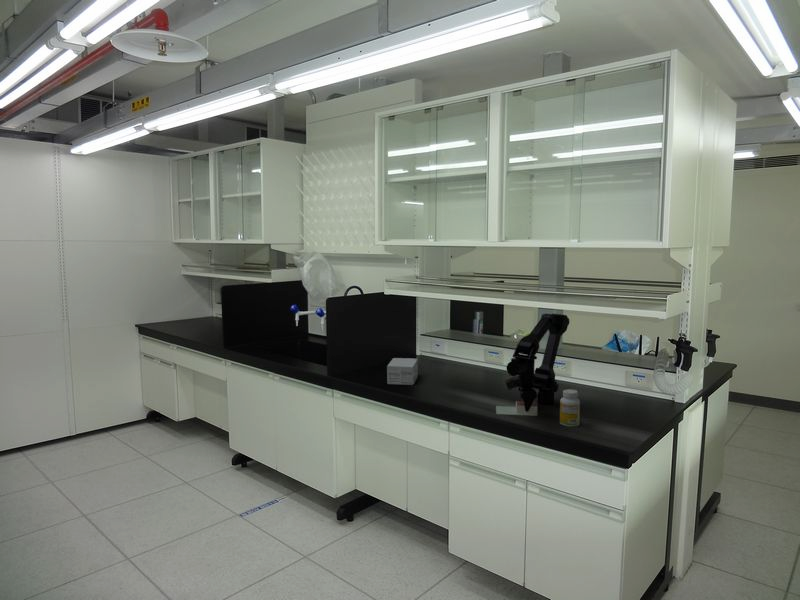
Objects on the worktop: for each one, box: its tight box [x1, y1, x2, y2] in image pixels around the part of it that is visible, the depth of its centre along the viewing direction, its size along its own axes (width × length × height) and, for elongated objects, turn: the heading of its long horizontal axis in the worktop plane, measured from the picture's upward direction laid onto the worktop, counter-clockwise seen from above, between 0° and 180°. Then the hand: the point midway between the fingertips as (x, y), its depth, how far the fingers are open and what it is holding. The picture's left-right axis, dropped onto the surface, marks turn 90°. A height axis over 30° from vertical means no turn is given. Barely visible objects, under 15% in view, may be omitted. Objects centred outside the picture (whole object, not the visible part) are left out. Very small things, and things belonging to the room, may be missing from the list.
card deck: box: [515, 400, 538, 415], centre depth 214 cm, size 8×6×3 cm
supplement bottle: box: [559, 388, 581, 427], centre depth 199 cm, size 7×7×13 cm
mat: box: [495, 405, 538, 417], centre depth 215 cm, size 16×10×1 cm, turn 81°
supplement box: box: [386, 357, 419, 386], centre depth 265 cm, size 17×13×9 cm
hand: (526, 409), depth 214 cm, fingers closed on card deck, 5 cm apart
